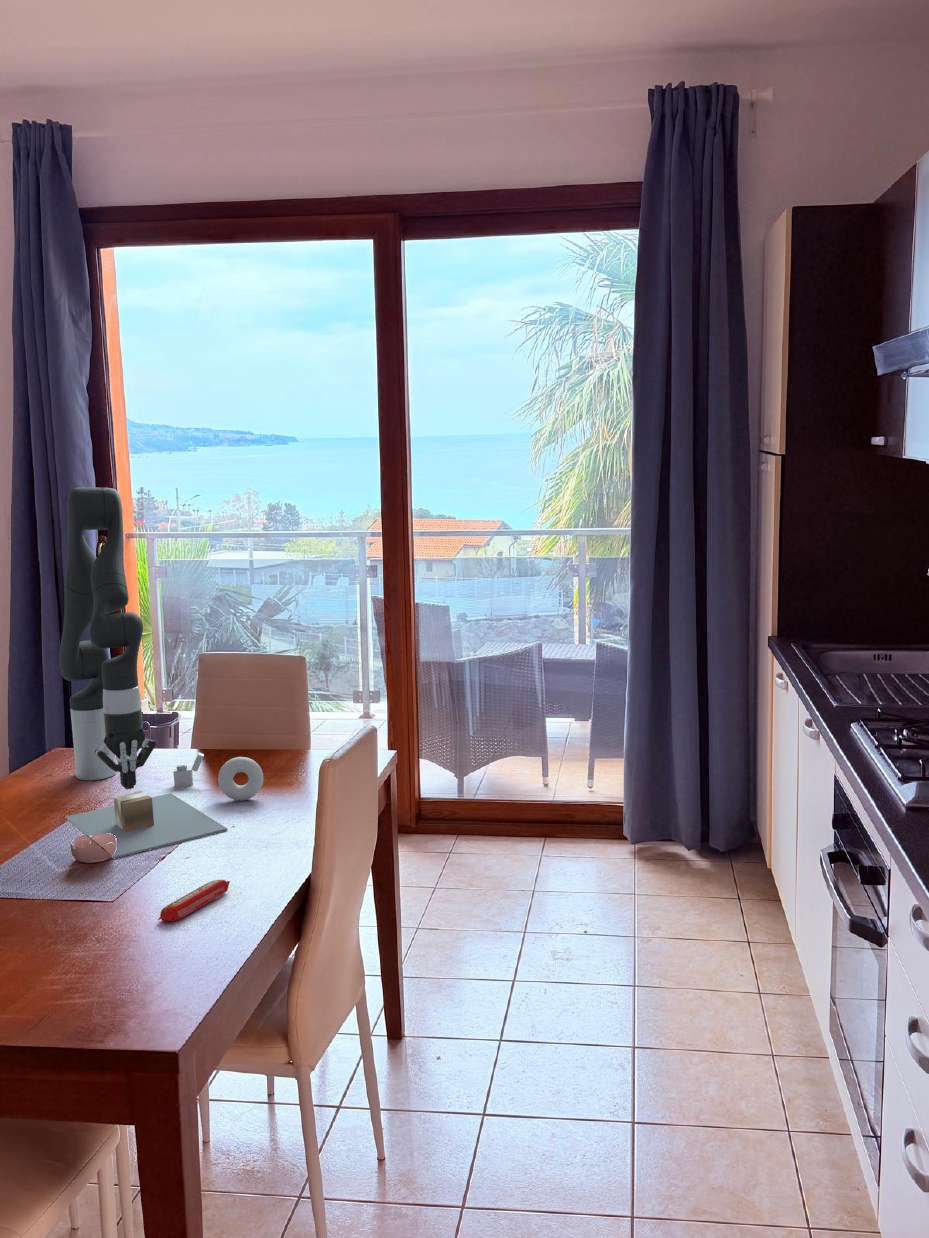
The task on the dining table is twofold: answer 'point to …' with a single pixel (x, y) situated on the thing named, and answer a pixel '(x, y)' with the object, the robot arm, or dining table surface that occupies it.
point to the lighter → (186, 773)
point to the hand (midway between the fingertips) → (128, 788)
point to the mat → (169, 826)
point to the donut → (236, 790)
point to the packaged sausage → (193, 900)
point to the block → (133, 811)
